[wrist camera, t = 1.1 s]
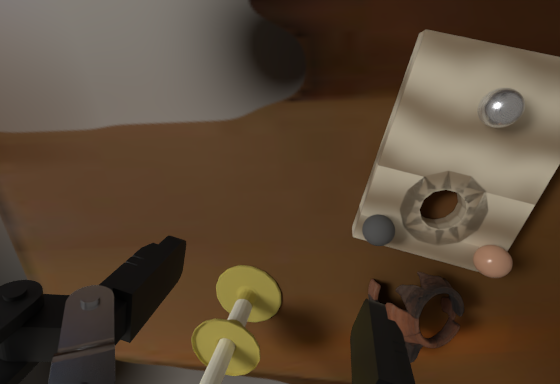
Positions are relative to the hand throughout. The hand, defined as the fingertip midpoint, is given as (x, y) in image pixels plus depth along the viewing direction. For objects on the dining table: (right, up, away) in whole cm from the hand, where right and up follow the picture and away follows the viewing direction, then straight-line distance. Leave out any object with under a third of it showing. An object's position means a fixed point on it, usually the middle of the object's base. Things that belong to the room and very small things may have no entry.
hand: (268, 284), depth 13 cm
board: (+19, +7, +20) cm, 29 cm away
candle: (-4, -11, +32) cm, 34 cm away
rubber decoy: (+11, 0, +20) cm, 23 cm away
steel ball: (+20, +11, +14) cm, 27 cm away
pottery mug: (+17, -10, +27) cm, 34 cm away
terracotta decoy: (+23, -3, +18) cm, 30 cm away
